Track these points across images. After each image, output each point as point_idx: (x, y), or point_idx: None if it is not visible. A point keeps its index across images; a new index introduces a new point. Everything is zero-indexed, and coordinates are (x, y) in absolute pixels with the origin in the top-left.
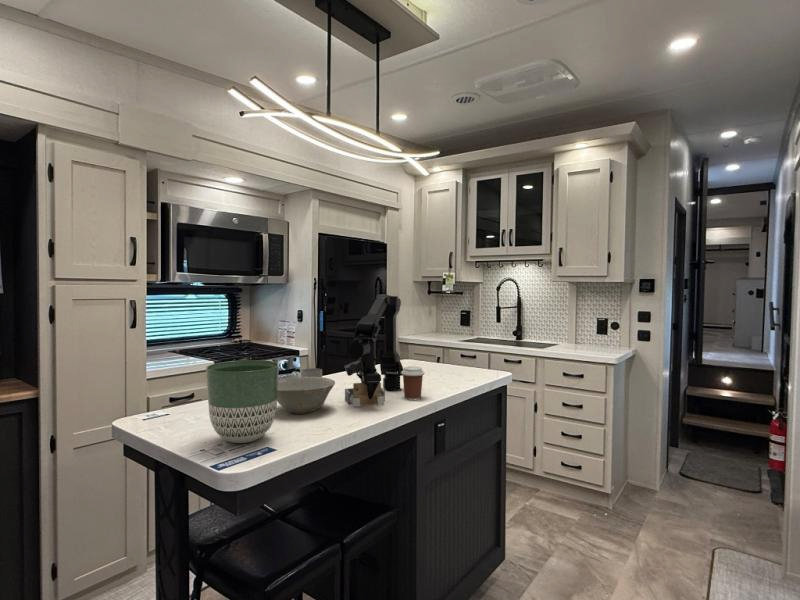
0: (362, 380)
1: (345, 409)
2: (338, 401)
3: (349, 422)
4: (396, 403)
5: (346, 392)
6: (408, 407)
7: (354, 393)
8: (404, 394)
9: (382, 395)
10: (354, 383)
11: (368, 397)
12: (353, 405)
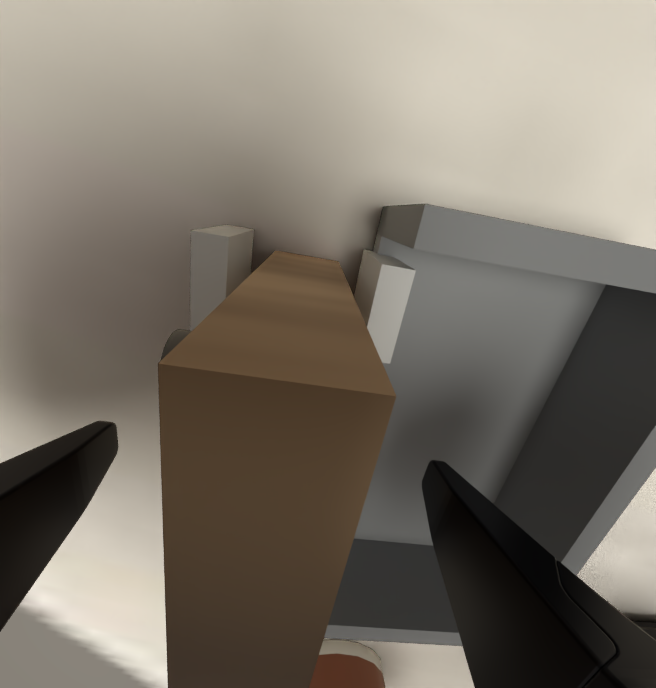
0: (582, 673)
1: (129, 67)
2: (575, 127)
3: None
4: None
5: (596, 240)
6: (97, 599)
7: (242, 284)
8: (353, 674)
9: None
10: (328, 420)
11: (78, 430)
12: (227, 226)
